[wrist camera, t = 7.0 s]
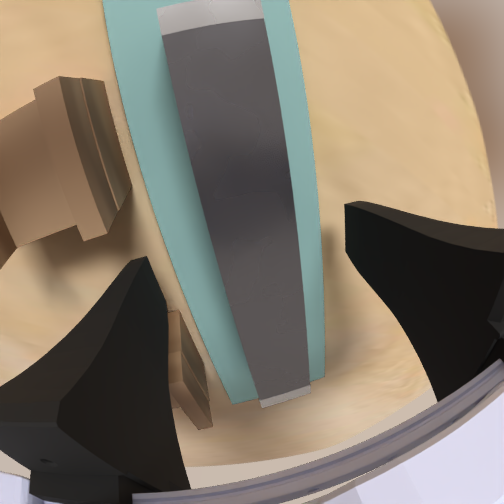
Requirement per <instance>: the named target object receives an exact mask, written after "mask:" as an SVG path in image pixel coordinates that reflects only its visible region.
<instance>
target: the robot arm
mask: <svg viewBox="0 0 504 504" xmlns="http://www.w3.org/2000/svg"><path fill="white" fill-rule="evenodd" d="M344 208H345V252H346V253H347V255H348V257H349V258H350V260H351V262H352V263H353V265H354V266H355V268H356V269H357V271H358V272H359V273H360V274H361V276H362V277H363V278H364V279H365V280H366V282H367V283H368V284H369V285H370V286H371V288H372V289H373V290H374V291H375V292H376V293H377V295H378V296H379V297H380V298H381V299H382V301H383V302H384V303H385V304H386V305H387V307H388V308H389V309H390V310H391V312H392V313H393V314H394V316H395V317H396V318H397V320H398V322H399V323H400V325H401V326H402V328H403V330H404V331H405V333H406V335H407V336H408V338H409V340H410V342H411V344H412V345H413V347H414V349H415V351H416V353H417V355H418V357H419V359H420V361H421V363H422V365H423V367H424V369H425V371H426V374H427V376H428V378H429V380H430V383H431V386H432V388H433V391H434V393H435V396H436V399H437V402H438V403H436V404H434V405H433V406H431V407H430V408H428V409H426V410H425V411H423V412H421V413H419V414H418V415H416V416H414V417H412V418H410V419H409V420H407V421H405V422H403V423H401V424H399V425H397V426H395V427H393V428H392V429H389V430H387V431H385V432H383V433H381V434H379V435H377V436H375V437H373V438H370V439H368V440H366V441H364V442H361V443H359V444H357V445H354V446H352V447H350V448H347V449H345V450H342V451H340V452H337V453H335V454H332V455H329V456H327V457H324V458H321V459H319V460H315V461H313V462H309V463H306V464H303V465H300V466H297V467H294V468H291V469H287V470H284V471H280V472H277V473H273V474H269V475H265V476H261V477H257V478H254V479H248V480H244V481H239V482H234V483H229V484H224V485H218V486H212V487H205V488H198V489H191V487H190V484H189V480H188V477H187V474H186V470H185V467H184V463H183V460H182V456H181V451H180V447H179V443H178V439H177V434H176V429H175V424H174V418H173V413H172V406H171V400H170V392H169V380H168V346H169V323H168V313H167V305H166V300H165V298H164V296H163V293H162V291H161V289H160V286H159V284H158V282H157V279H156V277H155V275H154V272H153V270H152V267H151V265H150V263H149V260H148V258H147V256H145V257H141V258H138V259H134V260H131V261H130V262H129V263H128V264H127V265H126V266H125V267H124V268H123V270H122V271H121V272H120V273H119V275H118V276H117V277H116V278H115V280H114V281H113V282H112V284H111V285H110V286H109V287H108V289H107V290H106V291H105V293H104V294H103V295H102V296H101V297H100V299H99V300H98V301H97V302H96V303H95V305H94V306H93V307H92V308H91V310H90V311H89V312H88V313H87V314H86V315H85V317H84V318H83V319H82V320H81V321H80V322H79V323H78V324H77V325H76V326H75V327H74V328H73V329H72V330H71V331H70V332H69V333H68V334H67V335H66V336H65V337H64V338H63V339H62V340H61V341H60V342H59V343H58V344H57V345H55V346H54V347H53V348H52V349H51V350H50V351H49V352H48V353H47V354H45V355H44V356H43V357H42V358H40V359H39V360H38V361H37V362H35V363H34V364H33V365H32V366H30V367H29V368H28V369H26V370H25V371H23V372H22V373H21V374H19V375H18V376H16V377H15V378H13V379H12V380H10V381H8V382H7V383H5V384H4V385H2V386H1V387H0V450H1V451H2V452H4V453H5V454H7V455H8V456H9V457H11V458H13V459H14V460H15V461H17V462H18V463H20V464H21V465H23V466H25V467H26V468H28V469H29V470H31V475H30V479H28V478H26V477H23V476H20V475H16V474H11V473H6V472H2V471H0V504H279V503H283V502H286V501H290V500H293V499H297V498H300V497H303V496H306V495H310V494H313V493H316V492H319V491H322V490H324V489H327V488H330V487H332V486H335V485H338V484H341V483H343V482H346V481H348V480H351V479H353V478H355V477H358V476H360V475H363V474H365V473H367V472H369V471H371V470H374V469H375V468H377V469H375V470H374V471H371V472H369V473H367V474H365V475H363V476H361V477H359V478H357V479H355V480H353V481H351V482H350V483H348V484H346V485H344V486H342V487H340V488H338V489H337V490H335V491H333V492H331V493H329V494H327V495H324V496H322V497H319V498H316V499H314V500H311V501H308V502H305V503H303V504H504V229H495V228H482V227H474V226H466V225H459V224H454V223H448V222H443V221H438V220H434V219H430V218H426V217H422V216H418V215H414V214H411V213H407V212H404V211H400V210H397V209H393V208H389V207H386V206H382V205H378V204H374V203H370V202H364V201H356V202H352V203H348V204H344ZM386 463H387V464H386ZM384 464H385V465H384ZM382 465H383V466H382ZM380 466H381V467H380ZM378 467H379V468H378Z"/></svg>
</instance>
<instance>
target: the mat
mask: <svg viewBox="0 0 504 504" xmlns="http://www.w3.org/2000/svg"><path fill="white" fill-rule="evenodd" d="M188 1H193V0H103V7H104V13H105V19H106V25H107V31H108V36H109V42H110V47H111V52H112V57H113V62H114V67H115V71H116V76H117V81H118V85H119V89H120V94H121V98H122V102H123V106H124V110H125V114H126V118H127V122H128V125H129V129H130V133H131V137H132V140H133V144H134V148H135V151H136V155H137V158H138V161H139V165H140V168H141V172H142V175H143V178H144V181H145V185H146V188H147V191H148V194H149V197H150V200H151V204H152V207H153V210H154V213H155V216H156V219H157V222H158V225H159V228H160V230H161V233H162V236H163V239H164V242H165V245H166V248H167V250H168V253H169V256H170V259H171V261H172V264H173V267H174V269H175V272H176V275H177V277H178V280H179V283H180V285H181V288H182V290H183V293H184V295H185V298H186V300H187V303H188V305H189V308H190V310H191V313H192V315H193V318H194V320H195V323H196V325H197V327H198V330H199V332H200V334H201V337H202V339H203V341H204V344H205V346H206V348H207V351H208V353H209V355H210V357H211V360H212V362H213V364H214V366H215V368H216V371H217V373H218V375H219V377H220V379H221V381H222V384H223V386H224V388H225V390H226V392H227V394H228V396H229V398H230V400H231V402H232V405H233V404H237V403H241V402H245V401H249V400H253V399H256V398H259V397H258V394H257V391H256V388H255V385H254V382H253V379H252V376H251V372H250V369H249V366H248V363H247V360H246V357H245V353H244V350H243V347H242V344H241V341H240V337H239V334H238V331H237V328H236V324H235V321H234V318H233V314H232V311H231V308H230V304H229V301H228V298H227V294H226V291H225V287H224V284H223V281H222V277H221V274H220V270H219V267H218V263H217V260H216V256H215V252H214V249H213V245H212V242H211V238H210V234H209V231H208V227H207V223H206V220H205V216H204V212H203V208H202V205H201V201H200V197H199V193H198V189H197V185H196V182H195V178H194V174H193V170H192V166H191V162H190V158H189V154H188V150H187V146H186V142H185V137H184V133H183V129H182V125H181V121H180V116H179V112H178V108H177V103H176V99H175V95H174V90H173V86H172V81H171V77H170V72H169V67H168V63H167V58H166V53H165V48H164V44H163V39H162V36H161V31H160V26H159V21H158V16H157V10H156V9H157V8H161V7H165V6H169V5H174V4H178V3H183V2H188ZM261 4H262V9H263V13H264V20H265V25H266V30H267V35H268V40H269V45H270V51H271V56H272V61H273V67H274V72H275V78H276V83H277V89H278V95H279V101H280V107H281V113H282V120H283V126H284V133H285V139H286V146H287V153H288V160H289V167H290V174H291V182H292V190H293V197H294V206H295V214H296V222H297V231H298V240H299V250H300V259H301V269H302V280H303V291H304V302H305V315H306V328H307V342H308V357H309V374H310V382H311V381H314V380H317V379H320V378H323V377H324V375H325V325H324V286H323V263H322V245H321V229H320V216H319V203H318V192H317V181H316V171H315V161H314V152H313V144H312V135H311V127H310V120H309V112H308V105H307V98H306V92H305V85H304V79H303V73H302V67H301V61H300V55H299V50H298V44H297V39H296V34H295V29H294V24H293V19H292V14H291V9H290V5H289V0H261Z"/></svg>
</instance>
